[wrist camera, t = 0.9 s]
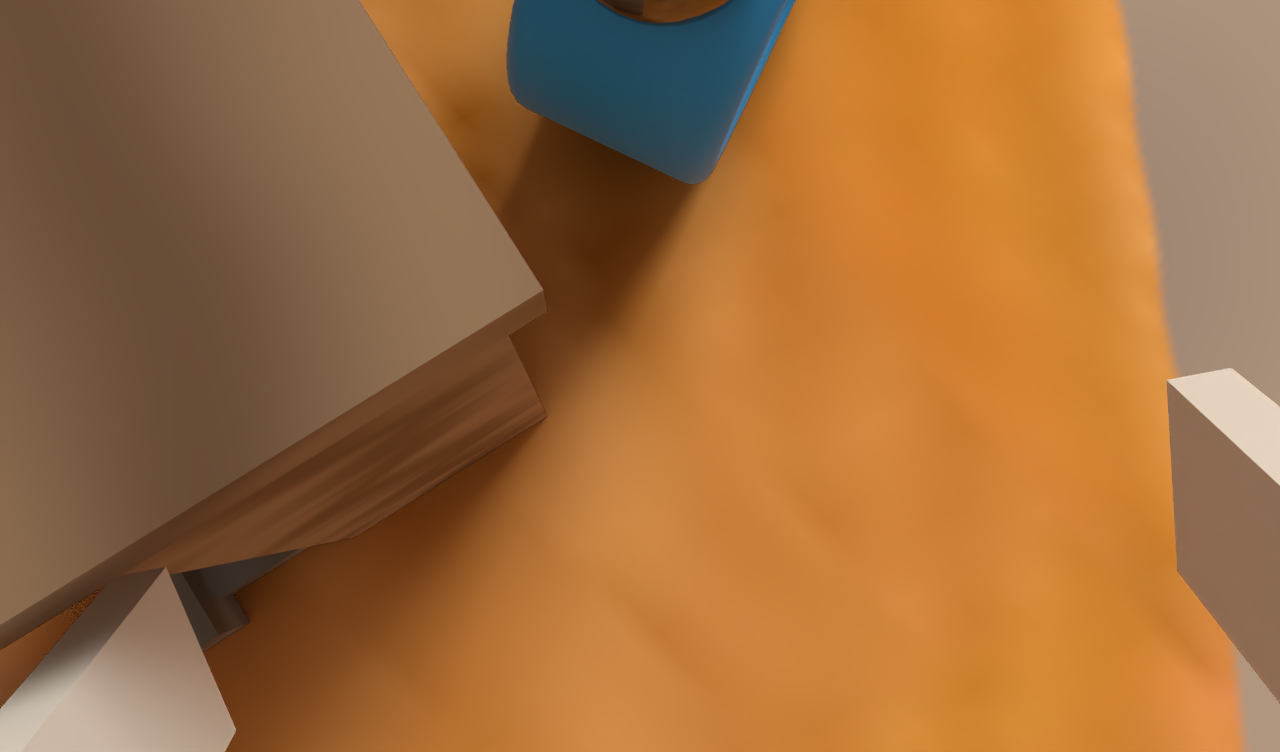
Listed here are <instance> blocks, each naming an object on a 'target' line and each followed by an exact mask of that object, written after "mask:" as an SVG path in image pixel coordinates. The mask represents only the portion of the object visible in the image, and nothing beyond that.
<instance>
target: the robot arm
mask: <svg viewBox="0 0 1280 752" xmlns="http://www.w3.org/2000/svg"><path fill="white" fill-rule="evenodd" d="M1167 396H1168V413H1169V431H1170V448H1171V466H1172V483H1173V501H1174V518H1175V536H1176V553H1177V571H1178V572H1179V574H1180V575H1181V576H1182V578H1183V579H1184V580H1185V581H1186V583H1187V584H1188V585H1189V587H1190V588H1191V589H1192V591H1193V592H1194V593H1195V594H1196V596H1197V597H1198V598H1199V600H1200V601H1201V602H1202V603H1203V605H1204V606H1205V607H1206V609H1207V610H1208V611H1209V612H1210V614H1211V615H1212V616H1213V618H1214V619H1215V620H1216V621H1217V623H1218V624H1219V625H1220V627H1221V628H1222V629H1223V631H1224V632H1225V633H1226V634H1227V636H1228V637H1229V638H1230V640H1231V641H1232V642H1233V643H1234V645H1235V646H1236V647H1237V649H1238V650H1239V651H1240V652H1241V654H1242V655H1243V656H1244V658H1245V659H1246V660H1247V662H1248V663H1249V664H1250V665H1251V667H1252V668H1253V669H1254V670H1255V672H1256V673H1257V674H1258V675H1259V677H1260V678H1261V680H1262V681H1263V682H1264V683H1265V685H1266V686H1267V687H1268V689H1269V690H1270V691H1271V692H1272V694H1273V695H1274V696H1275V697H1276V699H1277V700H1278V701H1279V703H1280V407H1279V406H1278V405H1277V404H1275V403H1274V402H1273V401H1272V400H1270V399H1269V398H1268V397H1267V396H1265V395H1264V394H1263V393H1262V392H1260V391H1259V390H1258V389H1257V388H1255V387H1254V386H1253V385H1252V384H1250V383H1249V382H1248V381H1247V380H1246V379H1244V378H1243V377H1242V376H1241V375H1239V374H1238V373H1237V372H1235V371H1234V370H1233V369H1232V368H1228V369H1223V370H1218V371H1213V372H1207V373H1202V374H1197V375H1191V376H1186V377H1180V378H1175V379H1170V380H1167ZM235 732H236V728H235V726H234V724H233V721H232V719H231V717H230V714H229V712H228V710H227V707H226V705H225V703H224V700H223V698H222V696H221V693H220V691H219V689H218V686H217V684H216V682H215V680H214V677H213V675H212V673H211V670H210V668H209V666H208V663H207V661H206V659H205V656H204V654H203V652H202V649H201V647H200V645H199V642H198V640H197V638H196V635H195V633H194V631H193V628H192V626H191V624H190V621H189V619H188V617H187V615H186V612H185V610H184V608H183V605H182V603H181V601H180V598H179V596H178V594H177V591H176V589H175V587H174V584H173V582H172V580H171V577H170V575H169V573H168V570H167V568H166V567H162V568H157V569H152V570H146V571H141V572H136V573H130V574H125V575H121V576H119V577H118V578H116V579H115V580H113V581H111V582H110V583H108V584H107V585H106V586H105V587H104V588H103V589H102V590H101V591H100V593H99V594H98V595H97V596H96V597H95V599H94V600H93V601H92V602H91V603H90V604H89V606H88V607H87V608H86V609H85V610H84V611H83V613H82V614H81V615H80V616H79V617H78V618H77V620H76V621H75V622H74V623H73V624H72V625H71V627H70V628H69V629H68V630H67V631H66V632H65V634H64V635H63V636H62V637H61V638H60V640H59V641H58V642H57V643H56V644H55V645H54V647H53V648H52V649H51V650H50V651H49V652H48V654H47V655H46V656H45V657H44V658H43V659H42V661H41V662H40V663H39V664H38V665H37V666H36V668H35V669H34V670H33V671H32V672H31V673H30V675H29V676H28V677H27V678H26V679H25V681H24V682H23V683H22V684H21V685H20V686H19V688H18V689H17V690H16V691H15V692H14V693H13V695H12V696H11V697H10V698H9V699H8V700H7V702H6V703H5V704H4V705H3V706H2V707H1V709H0V752H225V751H226V749H227V747H228V745H229V743H230V741H231V740H232V738H233V736H234V734H235Z"/></svg>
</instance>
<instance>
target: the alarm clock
mask: <svg viewBox="0 0 1280 752" xmlns="http://www.w3.org/2000/svg"><path fill="white" fill-rule="evenodd" d="M794 2H795V0H514V4H513V9H512V15H511V21H510V27H509V35H508V44H507V74H508V81H509V86H510V90H511V92H512V94H513V95H514V97H515V99H516V100H517V102H518V103H520V104H521V105H522V106H524V107H525V108H526V109H529V110H531V111H533V112H535V113H537V114H539V115H541V116H543V117H546V118H548V119H550V120H552V121H554V122H556V123H558V124H560V125H562V126H565V127H567V128H569V129H571V130H573V131H575V132H577V133H579V134H582V135H584V136H586V137H588V138H590V139H592V140H594V141H596V142H599V143H601V144H603V145H605V146H607V147H609V148H611V149H613V150H616V151H618V152H620V153H622V154H624V155H626V156H628V157H630V158H632V159H635V160H637V161H639V162H641V163H643V164H645V165H647V166H649V167H652V168H654V169H656V170H658V171H660V172H662V173H664V174H666V175H669V176H671V177H673V178H675V179H677V180H679V181H681V182H683V183H687V184H698V183H701V182H702V181H704V180H706V179H707V178H708V177H709V175H710V174H711V173H712V171H713V170H714V168H715V166H716V164H717V162H718V160H719V159H720V157H721V155H722V153H723V151H724V149H725V147H726V145H727V143H728V141H729V139H730V137H731V135H732V133H733V130H734V128H735V126H736V124H737V122H738V120H739V118H740V116H741V114H742V112H743V110H744V108H745V106H746V104H747V102H748V100H749V97H750V95H751V93H752V91H753V89H754V87H755V85H756V83H757V81H758V79H759V77H760V74H761V72H762V70H763V68H764V66H765V64H766V62H767V60H768V58H769V55H770V53H771V51H772V49H773V47H774V45H775V43H776V41H777V39H778V36H779V34H780V32H781V30H782V28H783V26H784V24H785V22H786V19H787V17H788V15H789V13H790V11H791V9H792V7H793V4H794Z"/></svg>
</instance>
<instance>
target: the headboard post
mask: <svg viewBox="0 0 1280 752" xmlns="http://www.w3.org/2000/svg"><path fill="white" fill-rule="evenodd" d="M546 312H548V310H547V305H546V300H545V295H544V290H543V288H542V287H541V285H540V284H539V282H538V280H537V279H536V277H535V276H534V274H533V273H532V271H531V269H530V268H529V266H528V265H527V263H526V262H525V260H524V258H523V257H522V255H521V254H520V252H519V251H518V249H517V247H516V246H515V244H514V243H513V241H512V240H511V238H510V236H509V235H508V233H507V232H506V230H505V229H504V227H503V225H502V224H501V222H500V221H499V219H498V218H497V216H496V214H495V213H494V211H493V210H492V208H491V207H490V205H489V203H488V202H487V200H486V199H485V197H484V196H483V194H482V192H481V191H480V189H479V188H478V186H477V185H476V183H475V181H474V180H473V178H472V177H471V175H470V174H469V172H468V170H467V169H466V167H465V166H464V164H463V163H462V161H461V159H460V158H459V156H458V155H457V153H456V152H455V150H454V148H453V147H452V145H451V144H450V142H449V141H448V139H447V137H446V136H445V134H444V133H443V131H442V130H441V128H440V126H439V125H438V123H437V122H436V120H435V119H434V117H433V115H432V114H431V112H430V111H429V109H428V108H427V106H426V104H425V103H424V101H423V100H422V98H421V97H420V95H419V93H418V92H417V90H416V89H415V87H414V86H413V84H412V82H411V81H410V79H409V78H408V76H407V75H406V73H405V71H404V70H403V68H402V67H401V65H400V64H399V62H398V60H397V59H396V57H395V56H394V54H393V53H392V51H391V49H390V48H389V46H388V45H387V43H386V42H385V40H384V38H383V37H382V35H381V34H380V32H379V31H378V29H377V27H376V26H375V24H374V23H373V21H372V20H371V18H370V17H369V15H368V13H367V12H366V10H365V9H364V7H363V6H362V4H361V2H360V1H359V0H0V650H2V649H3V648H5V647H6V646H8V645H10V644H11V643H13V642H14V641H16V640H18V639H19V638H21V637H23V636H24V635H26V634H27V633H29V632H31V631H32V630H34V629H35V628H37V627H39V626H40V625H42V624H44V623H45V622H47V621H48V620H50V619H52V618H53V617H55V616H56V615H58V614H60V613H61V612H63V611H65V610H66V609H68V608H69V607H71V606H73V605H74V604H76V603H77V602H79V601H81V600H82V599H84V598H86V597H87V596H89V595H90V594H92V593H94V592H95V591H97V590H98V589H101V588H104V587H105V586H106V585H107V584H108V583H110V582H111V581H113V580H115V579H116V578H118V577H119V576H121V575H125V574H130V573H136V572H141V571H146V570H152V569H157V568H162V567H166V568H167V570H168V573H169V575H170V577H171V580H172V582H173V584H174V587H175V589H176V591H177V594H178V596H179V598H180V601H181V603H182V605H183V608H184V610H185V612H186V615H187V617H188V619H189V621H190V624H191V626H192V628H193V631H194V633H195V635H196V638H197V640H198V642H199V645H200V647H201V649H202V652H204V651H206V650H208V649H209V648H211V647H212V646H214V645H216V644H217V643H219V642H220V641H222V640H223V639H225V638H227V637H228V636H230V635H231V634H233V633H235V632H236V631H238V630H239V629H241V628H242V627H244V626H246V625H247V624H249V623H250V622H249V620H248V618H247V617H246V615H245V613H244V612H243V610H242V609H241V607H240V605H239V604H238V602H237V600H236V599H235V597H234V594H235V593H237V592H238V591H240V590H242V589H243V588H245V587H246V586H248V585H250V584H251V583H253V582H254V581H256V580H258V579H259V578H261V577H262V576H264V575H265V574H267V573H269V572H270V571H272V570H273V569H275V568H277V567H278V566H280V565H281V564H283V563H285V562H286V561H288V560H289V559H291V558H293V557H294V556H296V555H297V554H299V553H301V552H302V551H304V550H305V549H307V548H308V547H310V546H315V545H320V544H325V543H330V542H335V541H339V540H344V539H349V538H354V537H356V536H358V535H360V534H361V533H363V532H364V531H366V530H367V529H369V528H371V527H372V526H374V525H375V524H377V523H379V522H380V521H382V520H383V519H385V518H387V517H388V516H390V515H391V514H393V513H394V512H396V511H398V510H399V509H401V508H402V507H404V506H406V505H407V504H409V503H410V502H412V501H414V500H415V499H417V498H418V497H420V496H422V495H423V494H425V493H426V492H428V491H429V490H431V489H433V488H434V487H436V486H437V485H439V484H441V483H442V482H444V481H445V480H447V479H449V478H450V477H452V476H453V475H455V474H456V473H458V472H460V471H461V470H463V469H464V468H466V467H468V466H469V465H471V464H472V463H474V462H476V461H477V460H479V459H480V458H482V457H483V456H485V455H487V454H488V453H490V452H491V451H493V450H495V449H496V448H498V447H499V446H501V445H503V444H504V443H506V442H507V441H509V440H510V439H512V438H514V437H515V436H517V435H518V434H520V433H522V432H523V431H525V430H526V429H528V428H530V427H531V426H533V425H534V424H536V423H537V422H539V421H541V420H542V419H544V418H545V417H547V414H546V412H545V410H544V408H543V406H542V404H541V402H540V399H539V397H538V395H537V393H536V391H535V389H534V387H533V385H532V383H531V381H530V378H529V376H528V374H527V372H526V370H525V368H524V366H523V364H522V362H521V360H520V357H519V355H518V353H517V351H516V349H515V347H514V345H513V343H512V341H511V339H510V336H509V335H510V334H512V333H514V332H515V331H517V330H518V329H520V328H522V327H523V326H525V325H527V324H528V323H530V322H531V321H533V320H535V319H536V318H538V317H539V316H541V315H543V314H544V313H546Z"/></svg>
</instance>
